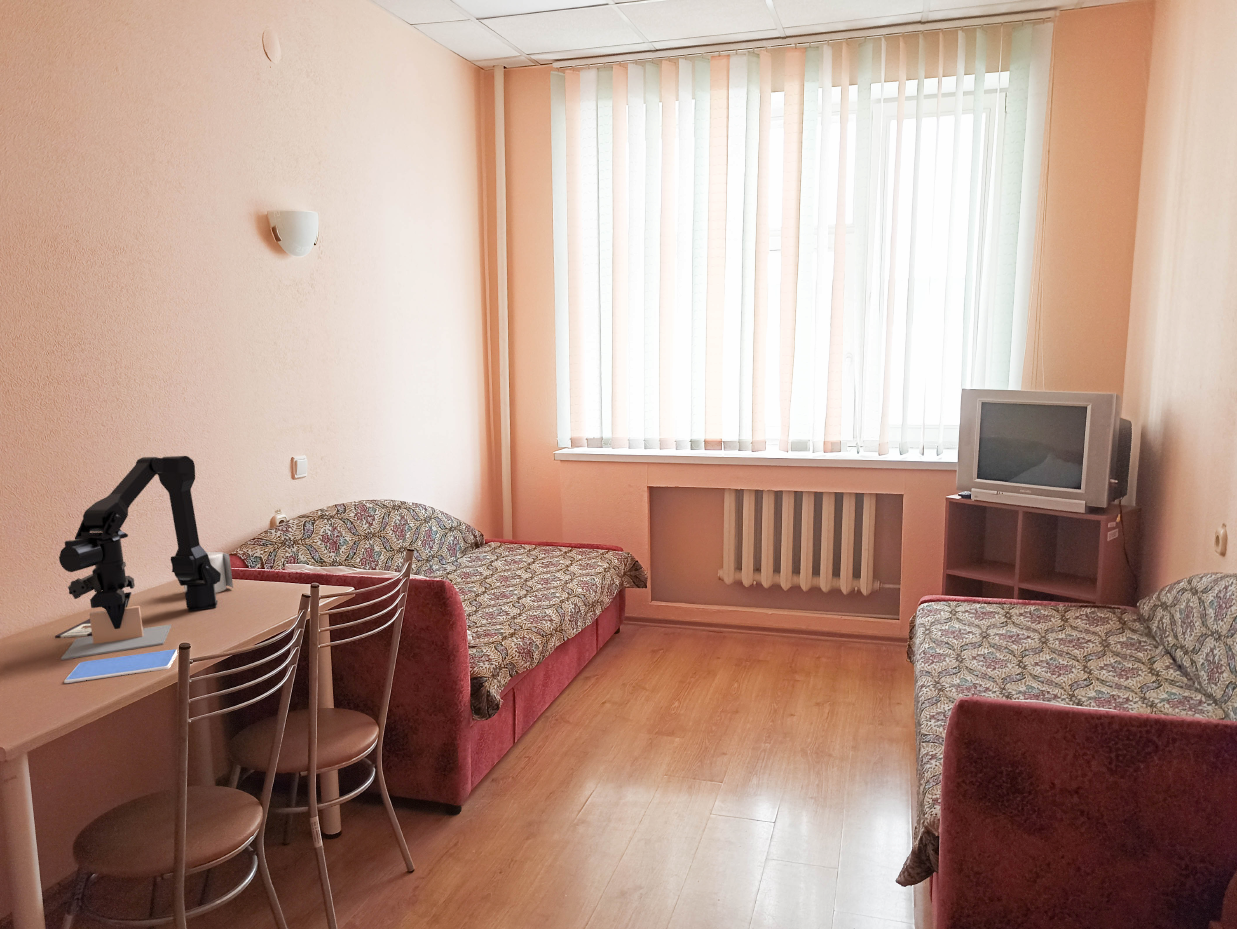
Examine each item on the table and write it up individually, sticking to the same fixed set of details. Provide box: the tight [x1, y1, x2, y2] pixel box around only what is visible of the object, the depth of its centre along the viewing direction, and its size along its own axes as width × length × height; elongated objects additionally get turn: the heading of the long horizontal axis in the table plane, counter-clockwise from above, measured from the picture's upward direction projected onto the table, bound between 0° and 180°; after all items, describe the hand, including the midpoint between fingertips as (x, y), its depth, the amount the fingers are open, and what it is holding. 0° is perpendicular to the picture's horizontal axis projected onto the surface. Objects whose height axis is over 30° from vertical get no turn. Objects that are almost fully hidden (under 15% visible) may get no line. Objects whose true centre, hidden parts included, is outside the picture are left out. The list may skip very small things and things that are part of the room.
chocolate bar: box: [54, 618, 92, 639], centre depth 224 cm, size 9×1×18 cm
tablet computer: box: [63, 649, 178, 684], centre depth 189 cm, size 19×13×1 cm, turn 107°
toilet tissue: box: [183, 551, 234, 594], centre depth 252 cm, size 11×12×10 cm
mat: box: [60, 624, 172, 661], centre depth 208 cm, size 20×16×1 cm
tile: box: [88, 605, 144, 644], centre depth 208 cm, size 10×2×7 cm, turn 110°
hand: (118, 627), depth 208 cm, fingers closed on tile, 2 cm apart
